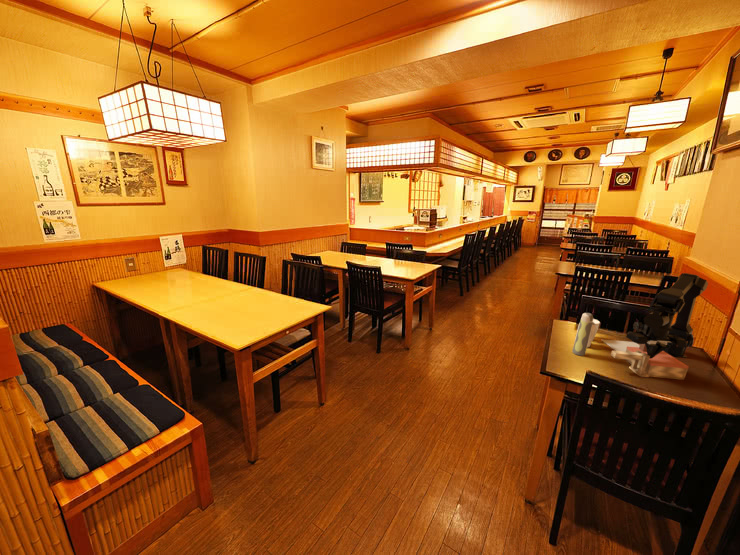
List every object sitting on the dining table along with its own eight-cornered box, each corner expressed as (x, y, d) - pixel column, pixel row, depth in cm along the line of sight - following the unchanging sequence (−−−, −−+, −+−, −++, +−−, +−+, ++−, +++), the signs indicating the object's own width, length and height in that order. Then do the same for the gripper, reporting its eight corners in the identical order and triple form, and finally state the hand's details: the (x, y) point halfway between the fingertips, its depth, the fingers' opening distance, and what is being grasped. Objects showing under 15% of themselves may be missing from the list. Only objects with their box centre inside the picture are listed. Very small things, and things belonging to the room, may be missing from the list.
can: (587, 342, 152) (593, 320, 149) (592, 348, 146) (598, 326, 143) (572, 340, 154) (578, 318, 151) (576, 346, 148) (582, 323, 145)
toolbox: (656, 361, 137) (662, 343, 135) (685, 380, 123) (692, 361, 121) (616, 357, 139) (621, 340, 137) (639, 376, 125) (646, 357, 123)
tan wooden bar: (644, 357, 127) (645, 353, 127) (648, 361, 125) (650, 356, 124) (610, 355, 128) (612, 350, 128) (614, 358, 126) (616, 353, 125)
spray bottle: (575, 349, 145) (585, 310, 139) (586, 354, 141) (597, 314, 135) (570, 352, 142) (579, 312, 137) (581, 357, 138) (592, 316, 133)
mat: (634, 342, 154) (635, 342, 154) (660, 359, 139) (660, 358, 139) (601, 340, 156) (601, 339, 156) (622, 356, 141) (623, 355, 140)
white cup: (598, 342, 154) (603, 324, 151) (583, 341, 154) (587, 323, 151) (588, 335, 161) (592, 317, 158) (573, 334, 161) (577, 316, 159)
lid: (659, 351, 136) (663, 341, 135) (687, 368, 123) (691, 357, 121) (626, 348, 137) (629, 338, 136) (650, 365, 124) (654, 354, 123)
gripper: (669, 317, 128) (658, 350, 132) (622, 313, 130) (612, 346, 134) (693, 328, 118) (680, 364, 122) (641, 324, 119) (630, 359, 123)
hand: (649, 358), depth 126 cm, fingers closed
